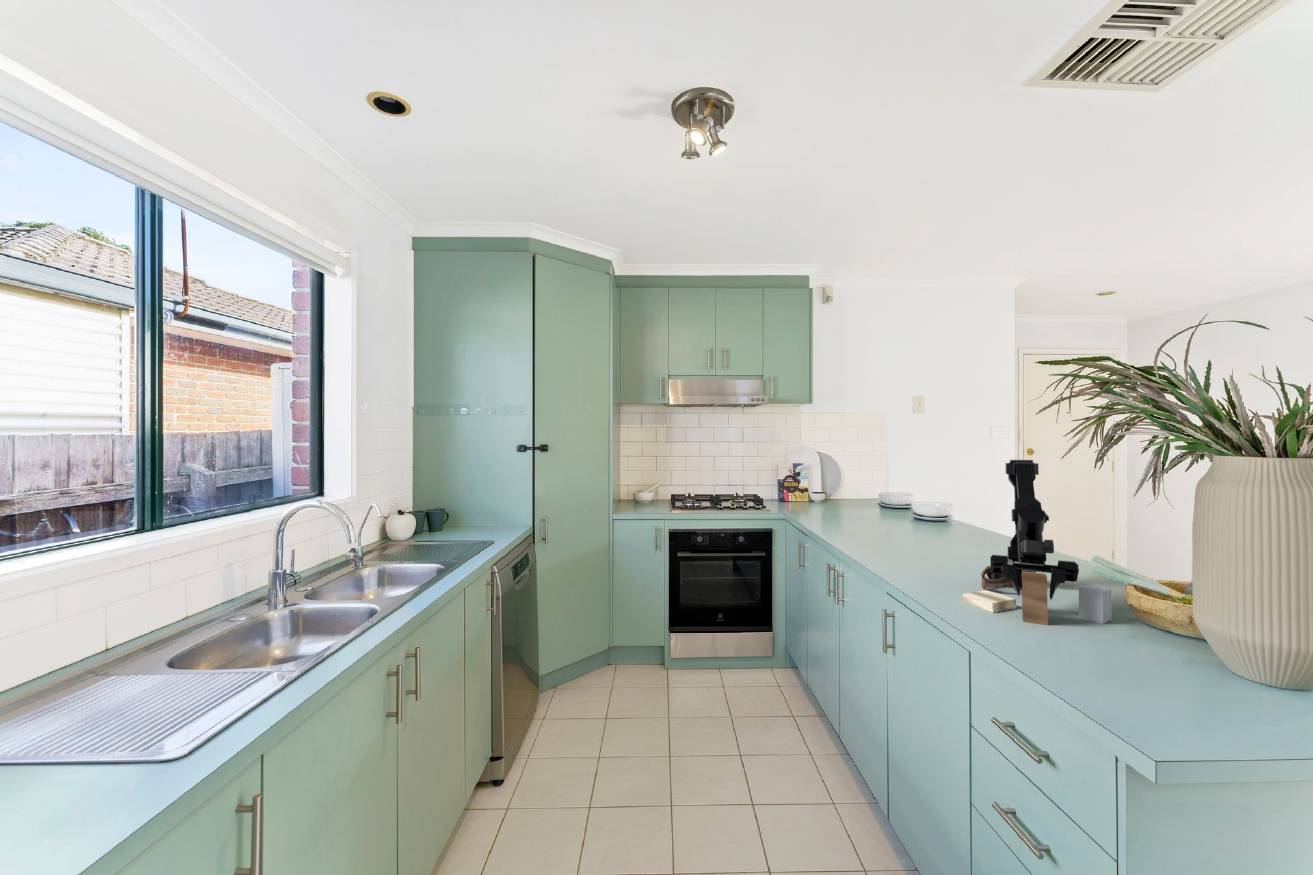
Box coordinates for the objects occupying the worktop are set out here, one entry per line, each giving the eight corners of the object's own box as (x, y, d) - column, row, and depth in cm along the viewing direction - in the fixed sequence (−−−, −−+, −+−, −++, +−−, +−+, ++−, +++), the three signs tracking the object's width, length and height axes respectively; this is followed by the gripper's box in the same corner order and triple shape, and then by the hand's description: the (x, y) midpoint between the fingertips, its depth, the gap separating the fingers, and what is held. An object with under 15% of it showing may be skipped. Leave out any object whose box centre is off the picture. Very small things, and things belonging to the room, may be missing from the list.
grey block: (1088, 614, 139) (1087, 584, 139) (1111, 620, 135) (1111, 588, 135) (1079, 618, 137) (1078, 587, 137) (1102, 624, 133) (1102, 592, 133)
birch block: (985, 600, 154) (985, 589, 154) (1016, 609, 145) (1016, 598, 145) (962, 604, 151) (962, 593, 151) (992, 614, 142) (992, 603, 142)
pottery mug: (1028, 595, 158) (1018, 573, 156) (997, 608, 159) (987, 586, 157) (1003, 574, 169) (994, 554, 168) (974, 586, 171) (965, 566, 169)
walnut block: (1022, 616, 139) (1021, 571, 139) (1045, 620, 136) (1045, 573, 136) (1023, 621, 135) (1022, 574, 135) (1047, 625, 133) (1047, 577, 133)
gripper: (989, 524, 144) (991, 575, 134) (1077, 530, 134) (1085, 584, 125) (989, 548, 150) (991, 597, 141) (1072, 554, 141) (1080, 608, 131)
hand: (1034, 596), depth 134 cm, fingers open, 6 cm apart
